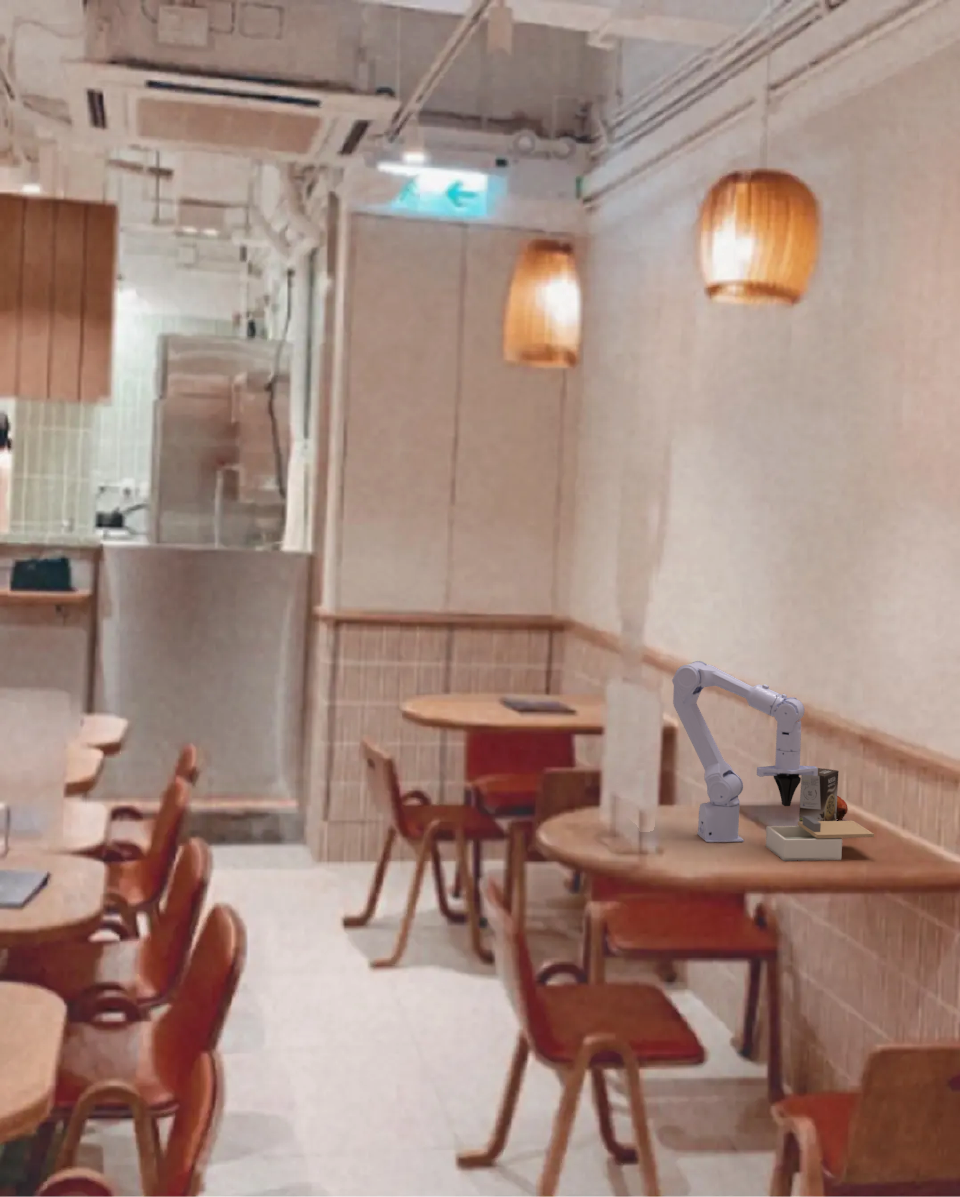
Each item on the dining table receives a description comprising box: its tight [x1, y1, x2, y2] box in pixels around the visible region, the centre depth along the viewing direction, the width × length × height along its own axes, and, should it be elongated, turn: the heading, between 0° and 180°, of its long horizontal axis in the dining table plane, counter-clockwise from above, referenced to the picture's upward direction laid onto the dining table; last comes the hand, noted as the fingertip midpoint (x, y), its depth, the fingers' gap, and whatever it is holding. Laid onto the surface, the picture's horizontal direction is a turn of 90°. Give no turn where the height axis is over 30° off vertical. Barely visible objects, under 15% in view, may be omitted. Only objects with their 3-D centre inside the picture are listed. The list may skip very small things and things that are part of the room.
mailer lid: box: [797, 816, 875, 839], centre depth 325 cm, size 14×12×3 cm
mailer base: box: [765, 825, 843, 862], centre depth 324 cm, size 14×12×5 cm
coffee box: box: [798, 767, 839, 821], centre depth 341 cm, size 9×6×16 cm
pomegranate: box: [836, 795, 849, 821], centre depth 355 cm, size 7×7×10 cm
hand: (786, 805), depth 328 cm, fingers closed
